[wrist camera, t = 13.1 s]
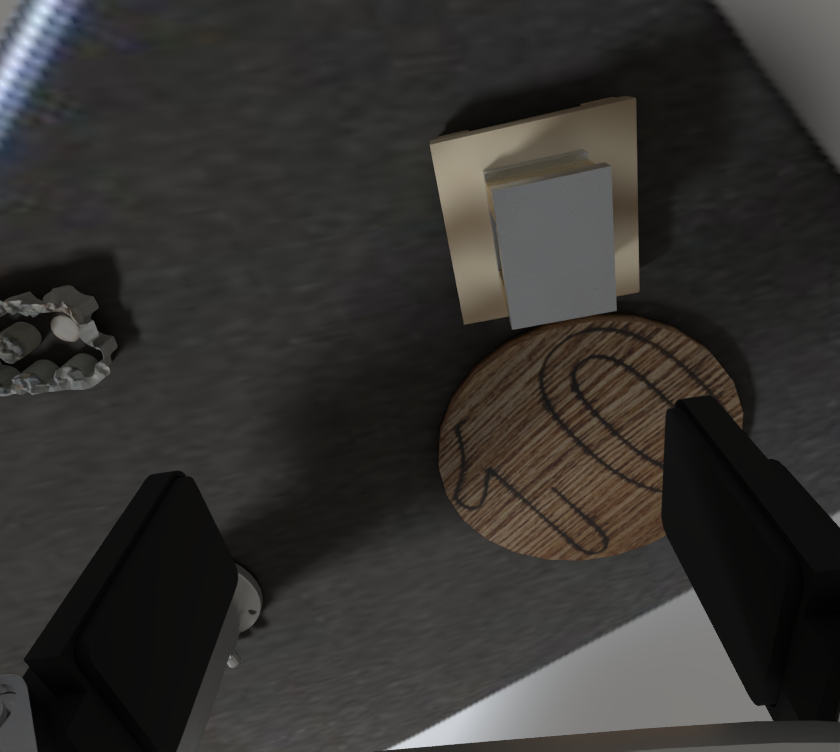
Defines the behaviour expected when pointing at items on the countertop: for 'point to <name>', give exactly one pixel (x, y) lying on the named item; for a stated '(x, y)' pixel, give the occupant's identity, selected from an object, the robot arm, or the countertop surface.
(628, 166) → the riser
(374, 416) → the countertop surface
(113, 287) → the countertop surface
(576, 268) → the block
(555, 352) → the trivet
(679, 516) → the robot arm
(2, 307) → the egg carton
